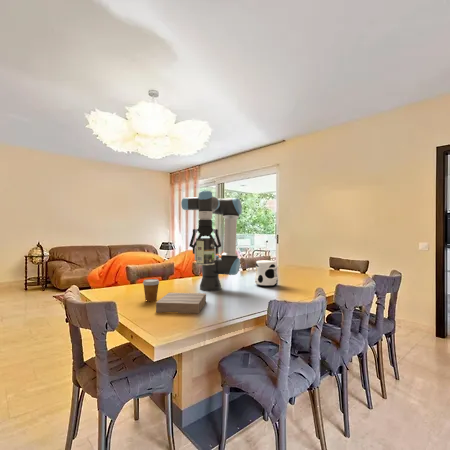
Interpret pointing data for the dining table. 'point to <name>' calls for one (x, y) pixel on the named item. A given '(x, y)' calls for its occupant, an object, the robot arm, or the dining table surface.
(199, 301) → the walnut plinth
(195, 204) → the robot arm
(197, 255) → the coffee can
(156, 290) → the disposable coffee cup
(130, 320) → the dining table surface
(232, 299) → the dining table surface
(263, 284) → the milk container
